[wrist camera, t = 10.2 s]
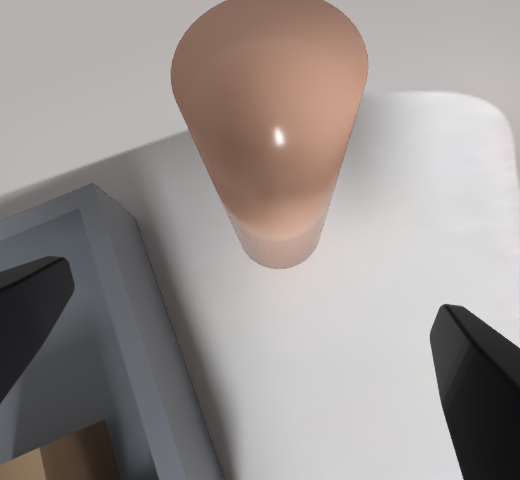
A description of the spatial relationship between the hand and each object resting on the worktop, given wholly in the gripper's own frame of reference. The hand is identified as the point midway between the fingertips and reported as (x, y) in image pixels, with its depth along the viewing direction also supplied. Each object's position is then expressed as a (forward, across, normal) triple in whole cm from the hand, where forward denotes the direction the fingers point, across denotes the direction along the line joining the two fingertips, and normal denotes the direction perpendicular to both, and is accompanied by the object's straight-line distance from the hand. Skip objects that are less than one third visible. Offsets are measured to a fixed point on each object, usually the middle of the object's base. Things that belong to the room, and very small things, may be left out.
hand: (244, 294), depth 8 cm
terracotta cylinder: (+12, 0, +4) cm, 13 cm away
